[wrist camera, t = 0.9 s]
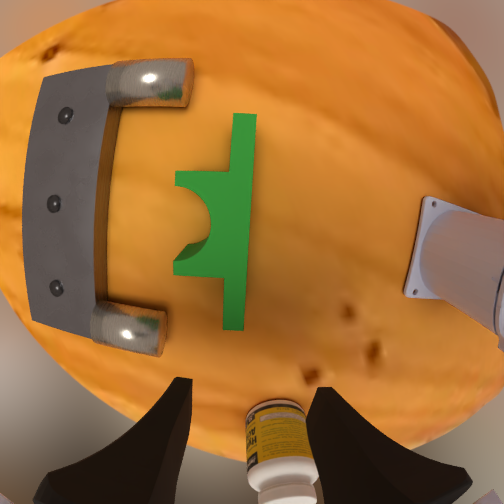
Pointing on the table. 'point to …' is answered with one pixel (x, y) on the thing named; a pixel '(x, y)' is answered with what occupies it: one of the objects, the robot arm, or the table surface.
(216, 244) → the green notched block
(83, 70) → the fixed leaf
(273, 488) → the supplement bottle
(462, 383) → the table surface
